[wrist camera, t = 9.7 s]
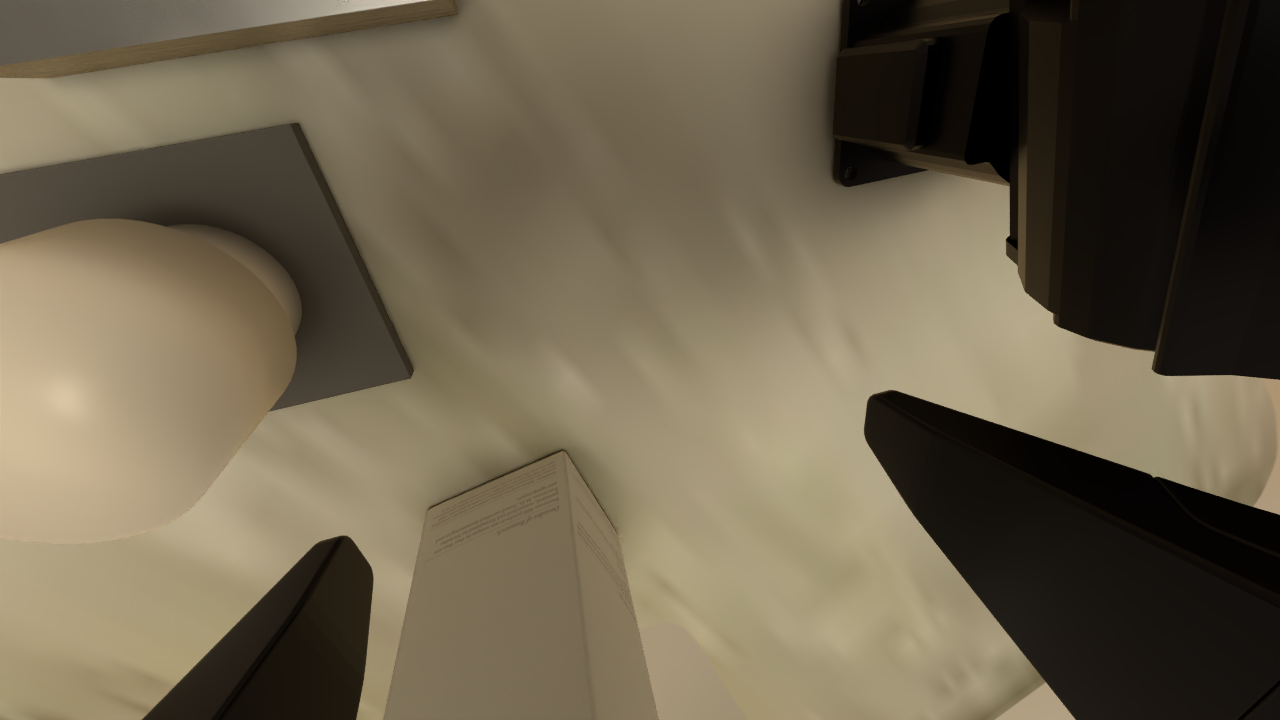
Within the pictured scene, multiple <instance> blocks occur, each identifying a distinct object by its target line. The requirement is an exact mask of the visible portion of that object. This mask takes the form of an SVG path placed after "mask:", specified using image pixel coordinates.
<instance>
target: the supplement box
mask: <svg viewBox="0 0 1280 720" xmlns="http://www.w3.org/2000/svg"><path fill="white" fill-rule="evenodd" d="M383 720H659V719H658V715H657V710H656V705H655V701H654V696H653V692H652V688H651V683H650V679H649V674H648V669H647V665H646V660H645V656H644V651H643V647H642V642H641V638H640V633H639V629H638V624H637V620H636V615H635V611H634V606H633V602H632V597H631V593H630V588H629V584H628V579H627V574H626V569H625V564H624V559H623V555H622V550H621V545H620V541H619V537H618V534H617V533H616V531H615V530H614V528H613V526H612V525H611V523H610V521H609V520H608V518H607V516H606V515H605V513H604V512H603V510H602V509H601V507H600V505H599V504H598V502H597V501H596V499H595V498H594V496H593V494H592V493H591V491H590V490H589V488H588V487H587V485H586V483H585V482H584V480H583V479H582V477H581V476H580V474H579V472H578V471H577V469H576V468H575V466H574V465H573V463H572V461H571V460H570V458H569V457H568V455H567V453H566V452H565V451H561V452H559V453H556V454H554V455H551V456H549V457H547V458H544V459H542V460H539V461H537V462H535V463H533V464H530V465H528V466H526V467H524V468H521V469H519V470H517V471H514V472H512V473H509V474H507V475H505V476H503V477H501V478H498V479H496V480H493V481H491V482H488V483H486V484H484V485H482V486H479V487H477V488H475V489H473V490H470V491H468V492H466V493H464V494H461V495H459V496H457V497H455V498H452V499H450V500H447V501H445V502H443V503H441V504H439V505H437V506H435V507H433V508H431V509H430V510H428V512H427V514H426V518H425V522H424V527H423V532H422V537H421V542H420V546H419V550H418V555H417V560H416V565H415V569H414V574H413V580H412V584H411V589H410V594H409V599H408V603H407V608H406V613H405V618H404V622H403V627H402V632H401V637H400V642H399V647H398V651H397V656H396V661H395V666H394V670H393V675H392V680H391V685H390V689H389V694H388V699H387V703H386V708H385V713H384V718H383Z"/></svg>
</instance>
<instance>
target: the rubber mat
mask: <svg viewBox="0 0 1280 720" xmlns="http://www.w3.org/2000/svg"><path fill="white" fill-rule="evenodd" d="M92 219H127V220H137V221H143V222H148V223H153V224H158V225H162V226H165V227H167V226H170V225H178V224H199V225H208V226H212V227H217V228H221V229H224V230H227V231H230V232H233V233H235V234H238V235H240V236H243V237H244V238H246V239H248V240H250V241H252V242H254V243H255V244H257V245H258V246H260V247H261V248H263V249H264V250H266V251H267V252H268V253H269V254H271V255H272V256H273V257H274V258H275V259H276V260H277V261H278V262H279V263H280V264H281V265H282V266H283V267H284V269H285V270H286V271H287V272H288V274H289V275H290V277H291V278H292V280H293V281H294V283H295V286H296V288H297V290H298V293H299V296H300V299H301V305H302V318H301V323H300V326H299V329H298V331H297V333H296V335H295V341H296V347H297V360H296V365H295V371H294V374H293V376H292V379H291V381H290V383H289V385H288V386H287V388H286V390H285V391H284V392H283V394H282V395H281V396H280V398H279V399H278V400H277V401H276V403H275V404H274V405H273V407H272V408H271V409H270V410H269V411H273V410H277V409H282V408H286V407H290V406H295V405H299V404H303V403H307V402H312V401H316V400H320V399H324V398H329V397H333V396H337V395H341V394H346V393H350V392H354V391H358V390H363V389H367V388H371V387H376V386H380V385H384V384H388V383H393V382H397V381H401V380H405V379H410V378H411V376H412V374H413V371H414V370H413V368H412V366H411V364H410V362H409V359H408V357H407V355H406V353H405V351H404V349H403V347H402V344H401V342H400V340H399V338H398V336H397V334H396V332H395V330H394V327H393V325H392V323H391V321H390V319H389V317H388V315H387V312H386V310H385V308H384V306H383V304H382V302H381V300H380V298H379V295H378V293H377V291H376V289H375V287H374V285H373V283H372V280H371V278H370V276H369V274H368V272H367V270H366V268H365V265H364V263H363V261H362V259H361V257H360V255H359V253H358V251H357V248H356V246H355V244H354V242H353V240H352V238H351V236H350V233H349V231H348V229H347V227H346V225H345V223H344V221H343V218H342V216H341V214H340V212H339V210H338V208H337V206H336V204H335V201H334V199H333V197H332V195H331V193H330V191H329V189H328V186H327V184H326V182H325V180H324V178H323V176H322V174H321V171H320V169H319V167H318V165H317V163H316V161H315V159H314V157H313V154H312V152H311V150H310V148H309V146H308V144H307V142H306V139H305V137H304V135H303V133H302V131H301V129H300V127H299V124H298V123H294V124H288V125H282V126H277V127H271V128H265V129H259V130H254V131H248V132H242V133H236V134H231V135H225V136H219V137H214V138H208V139H202V140H196V141H191V142H185V143H179V144H173V145H168V146H162V147H156V148H150V149H145V150H139V151H133V152H128V153H122V154H116V155H110V156H105V157H99V158H93V159H87V160H82V161H76V162H70V163H64V164H59V165H53V166H47V167H41V168H36V169H30V170H24V171H19V172H13V173H7V174H1V175H0V244H1V243H5V242H8V241H11V240H15V239H18V238H21V237H25V236H28V235H31V234H35V233H38V232H42V231H45V230H48V229H52V228H55V227H58V226H62V225H65V224H69V223H73V222H77V221H83V220H92Z"/></svg>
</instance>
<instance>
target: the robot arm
mask: <svg viewBox="0 0 1280 720" xmlns="http://www.w3.org/2000/svg"><path fill="white" fill-rule="evenodd" d="M833 134H834V135H835V153H834V170H833V176H834V180H835V182H836V183H837V184H839V185H842V186H845V187H851V186H856V185H861V184H865V183H870V182H875V181H880V180H884V179H889V178H894V177H898V176H903V175H908V174H912V173H917V172H922V171H926V170H933V171H938V172H943V173H948V174H952V175H957V176H962V177H967V178H972V179H977V180H982V181H987V182H992V183H997V184H1002V185H1007V186H1010V236H1009V237H1007V239H1006V255H1007V256H1008V257H1009V258H1010V259H1011V260H1012V261H1013V262H1014V263H1015V264H1017V265H1018V274H1019V276H1020V279H1021V282H1022V285H1023V288H1024V290H1025V292H1026V293H1027V294H1029V295H1030V296H1031V297H1032V298H1033V299H1035V300H1036V301H1037V302H1038V303H1039V304H1041V305H1042V306H1043V307H1044V308H1046V309H1047V310H1048V311H1050V312H1052V313H1053V321H1054V324H1056V325H1057V326H1058V327H1060V328H1063V329H1066V330H1068V331H1071V332H1073V333H1076V334H1079V335H1081V336H1084V337H1086V338H1089V339H1092V340H1095V341H1099V342H1103V343H1108V344H1112V345H1116V346H1121V347H1125V348H1130V349H1135V350H1144V351H1153V352H1155V355H1154V360H1153V365H1152V370H1153V371H1154V372H1155V373H1157V374H1160V375H1164V376H1197V375H1237V376H1247V377H1257V378H1269V379H1279V380H1280V0H863V3H862V4H861V5H859V4H858V2H857V0H843V11H842V29H841V47H840V55H839V56H838V58H837V69H836V87H835V106H834V124H833ZM849 167H851V173H850V175H849V176H848V177H847V178H845V172H846V170H847V169H848V168H849ZM864 435H865V439H866V441H867V443H868V445H869V447H870V448H871V450H872V451H873V453H874V455H875V456H876V458H877V459H878V461H879V462H880V464H881V465H882V467H883V469H884V470H885V472H886V473H887V475H888V476H889V478H890V479H891V481H892V483H893V484H894V486H895V487H896V489H897V490H898V492H899V494H900V495H901V497H902V498H903V500H904V501H905V503H906V504H907V506H908V507H909V509H910V510H911V512H912V513H913V515H914V516H915V517H916V519H917V520H918V521H919V523H920V524H921V525H922V526H923V528H924V529H925V530H926V532H927V533H928V534H929V535H930V537H931V538H932V539H933V540H934V542H935V543H936V544H937V545H938V547H939V548H940V549H941V550H942V552H943V553H944V554H945V555H946V557H947V558H948V559H949V561H950V562H951V563H952V564H953V566H954V567H955V568H956V569H957V571H958V572H959V573H960V574H961V576H962V577H963V578H964V579H965V581H966V582H967V583H968V584H969V586H970V587H971V588H972V590H973V591H974V592H975V593H976V595H977V596H978V597H979V598H980V600H981V601H982V602H983V603H984V605H985V606H986V607H987V608H988V610H989V611H990V612H991V613H992V615H993V616H994V617H995V619H996V620H997V621H998V622H999V624H1000V625H1001V626H1002V627H1003V629H1004V630H1005V631H1006V632H1007V634H1008V635H1009V636H1010V637H1011V639H1012V640H1013V641H1014V642H1015V644H1016V645H1017V646H1018V648H1019V649H1020V650H1021V651H1022V653H1023V654H1024V655H1025V656H1026V658H1027V659H1028V660H1029V661H1030V663H1031V664H1032V665H1033V666H1034V668H1035V669H1036V670H1037V671H1038V673H1039V674H1040V675H1041V677H1042V678H1043V679H1044V680H1045V682H1046V683H1047V684H1048V685H1049V687H1050V688H1051V689H1052V690H1053V692H1054V693H1055V694H1056V695H1057V696H1058V698H1059V699H1060V700H1061V702H1062V703H1063V704H1064V705H1065V707H1066V708H1067V709H1068V710H1069V712H1070V713H1071V714H1072V716H1073V717H1074V718H1075V719H1076V720H1280V515H1278V514H1275V513H1271V512H1268V511H1265V510H1261V509H1258V508H1254V507H1251V506H1248V505H1245V504H1241V503H1238V502H1235V501H1232V500H1229V499H1226V498H1222V497H1219V496H1216V495H1213V494H1210V493H1207V492H1203V491H1200V490H1197V489H1194V488H1191V487H1188V486H1185V485H1182V484H1179V483H1176V482H1173V481H1170V480H1167V479H1164V478H1161V477H1154V478H1153V477H1152V476H1151V475H1150V474H1148V473H1145V472H1142V471H1139V470H1136V469H1133V468H1130V467H1127V466H1124V465H1121V464H1118V463H1115V462H1112V461H1109V460H1106V459H1102V458H1099V457H1096V456H1093V455H1090V454H1087V453H1084V452H1081V451H1078V450H1075V449H1072V448H1069V447H1066V446H1063V445H1060V444H1057V443H1054V442H1051V441H1048V440H1045V439H1042V438H1038V437H1035V436H1032V435H1029V434H1026V433H1023V432H1020V431H1017V430H1014V429H1011V428H1008V427H1005V426H1002V425H999V424H996V423H993V422H990V421H987V420H984V419H981V418H978V417H974V416H971V415H968V414H965V413H962V412H959V411H956V410H953V409H950V408H947V407H944V406H941V405H938V404H935V403H932V402H929V401H926V400H923V399H920V398H917V397H914V396H910V395H907V394H904V393H901V392H898V391H895V390H888V391H884V392H881V393H877V394H873V395H872V396H870V397H869V399H868V401H867V409H866V417H865V425H864ZM372 591H373V572H372V569H371V566H370V564H369V563H368V561H367V560H366V559H365V557H364V556H363V554H362V553H361V551H360V550H359V549H358V547H357V546H356V544H355V543H354V541H353V540H352V539H351V538H350V537H348V536H338V537H334V538H331V539H327V540H323V541H321V542H318V543H317V544H315V545H314V546H313V547H312V548H311V549H310V550H309V551H308V552H307V553H306V554H305V555H304V556H303V557H302V558H301V559H300V560H299V561H298V562H297V563H296V564H295V565H294V566H293V567H292V568H291V569H290V570H289V571H288V572H287V573H286V574H285V575H284V576H283V578H282V579H281V580H280V581H279V582H278V583H277V584H276V585H275V586H274V587H273V588H272V589H271V590H270V591H269V592H268V593H267V594H266V595H265V596H264V597H263V598H262V599H261V600H260V601H259V602H258V603H257V604H256V605H255V606H254V607H253V608H252V609H251V610H250V611H249V612H248V613H247V614H246V615H245V616H244V617H243V618H242V619H241V620H240V621H239V622H238V623H237V624H236V625H235V626H234V627H233V628H232V629H231V630H230V631H229V632H228V633H227V634H226V635H225V636H224V637H223V638H222V639H221V640H220V641H219V642H218V643H217V644H216V645H215V646H214V647H213V648H212V649H211V650H210V651H209V652H208V653H207V654H206V655H205V656H204V657H203V658H202V659H201V660H200V661H199V662H198V663H197V664H196V665H195V666H194V667H193V668H192V669H191V670H190V671H189V672H188V674H187V675H186V676H185V677H184V678H183V679H182V680H181V681H180V682H179V683H178V684H177V685H176V686H175V687H174V688H173V689H172V690H171V691H170V692H169V693H168V694H167V695H166V696H165V697H164V698H163V699H162V700H161V701H160V702H159V703H158V704H157V705H156V706H155V707H154V708H153V709H152V710H151V711H150V712H149V713H148V714H147V715H146V716H145V717H144V718H143V719H142V720H356V717H357V712H358V707H359V702H360V697H361V692H362V686H363V681H364V673H365V665H366V656H367V645H368V634H369V624H370V613H371V602H372Z"/></svg>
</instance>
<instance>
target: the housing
mask: <svg viewBox="0 0 1280 720" xmlns="http://www.w3.org/2000/svg"><path fill="white" fill-rule="evenodd" d="M455 14H458V12H457V9H456V5H455V2H454V0H0V78H53V77H59V76H66V75H72V74H78V73H85V72H91V71H98V70H104V69H110V68H117V67H123V66H130V65H136V64H142V63H149V62H155V61H162V60H168V59H174V58H181V57H187V56H193V55H200V54H206V53H213V52H219V51H225V50H232V49H238V48H245V47H251V46H257V45H264V44H270V43H277V42H283V41H289V40H296V39H302V38H308V37H315V36H321V35H328V34H334V33H340V32H347V31H353V30H360V29H366V28H372V27H379V26H385V25H392V24H398V23H404V22H411V21H417V20H423V19H430V18H436V17H443V16H449V15H455Z"/></svg>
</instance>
